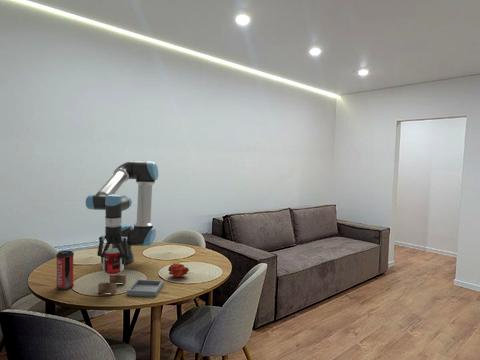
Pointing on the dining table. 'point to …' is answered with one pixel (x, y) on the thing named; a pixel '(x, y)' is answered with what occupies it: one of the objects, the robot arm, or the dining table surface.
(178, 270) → the dragon fruit
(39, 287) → the dining table surface
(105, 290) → the tan block
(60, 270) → the speaker
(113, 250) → the canned food
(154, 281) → the tray
